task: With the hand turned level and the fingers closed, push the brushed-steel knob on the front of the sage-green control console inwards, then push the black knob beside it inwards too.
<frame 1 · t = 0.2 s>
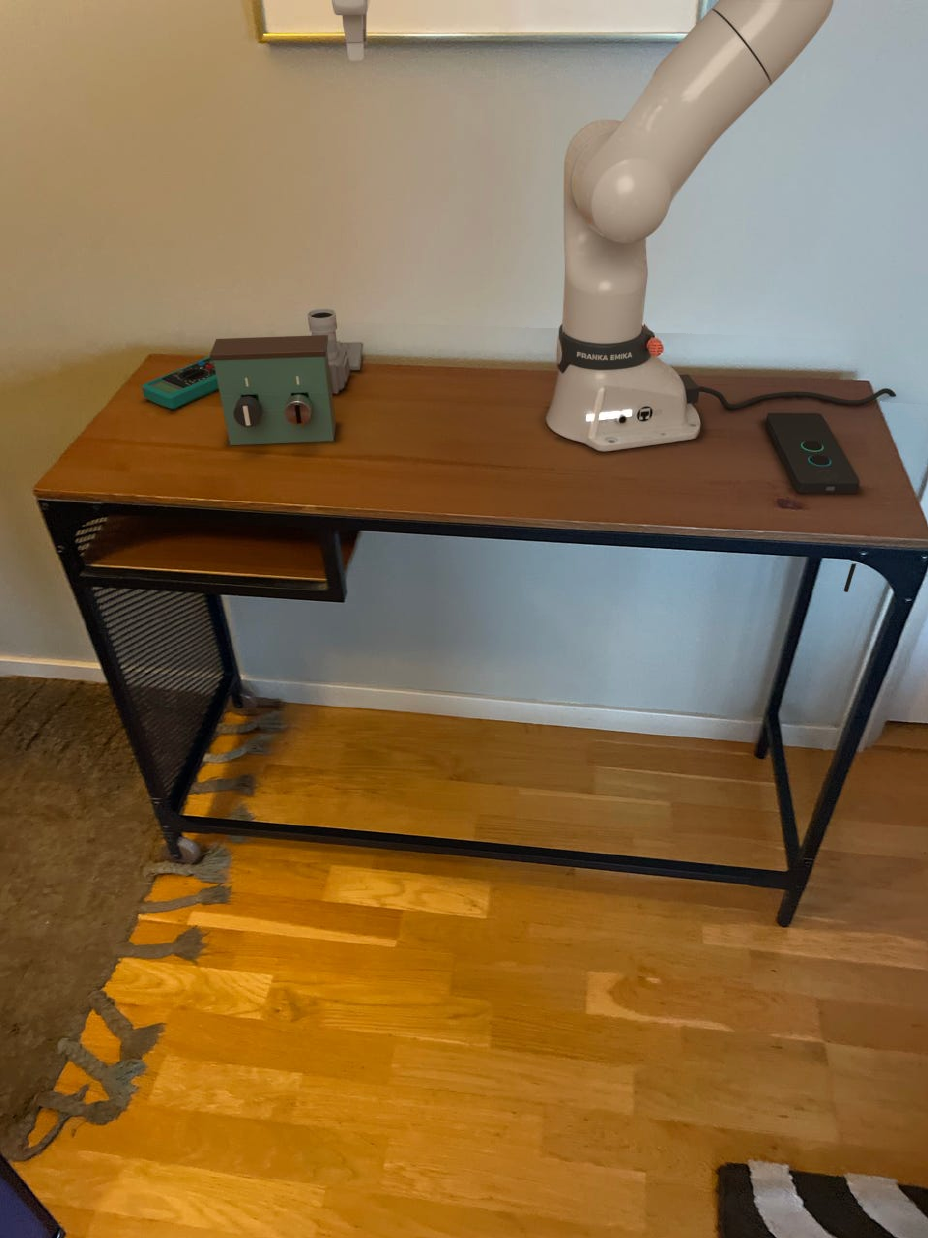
hand: (358, 53, 104), 48 cm above the table, tool pointing down, fingers open, 8 cm apart
console: (283, 434, 134), on the table
steel knob: (299, 405, 127), point 6 cm above the table, slide at 0.1 cm
digital multimeter: (194, 391, 146), on the table
smart home device: (807, 457, 127), on the table
black knob: (249, 407, 127), point 6 cm above the table, slide at 0.1 cm
camera: (333, 375, 150), on the table
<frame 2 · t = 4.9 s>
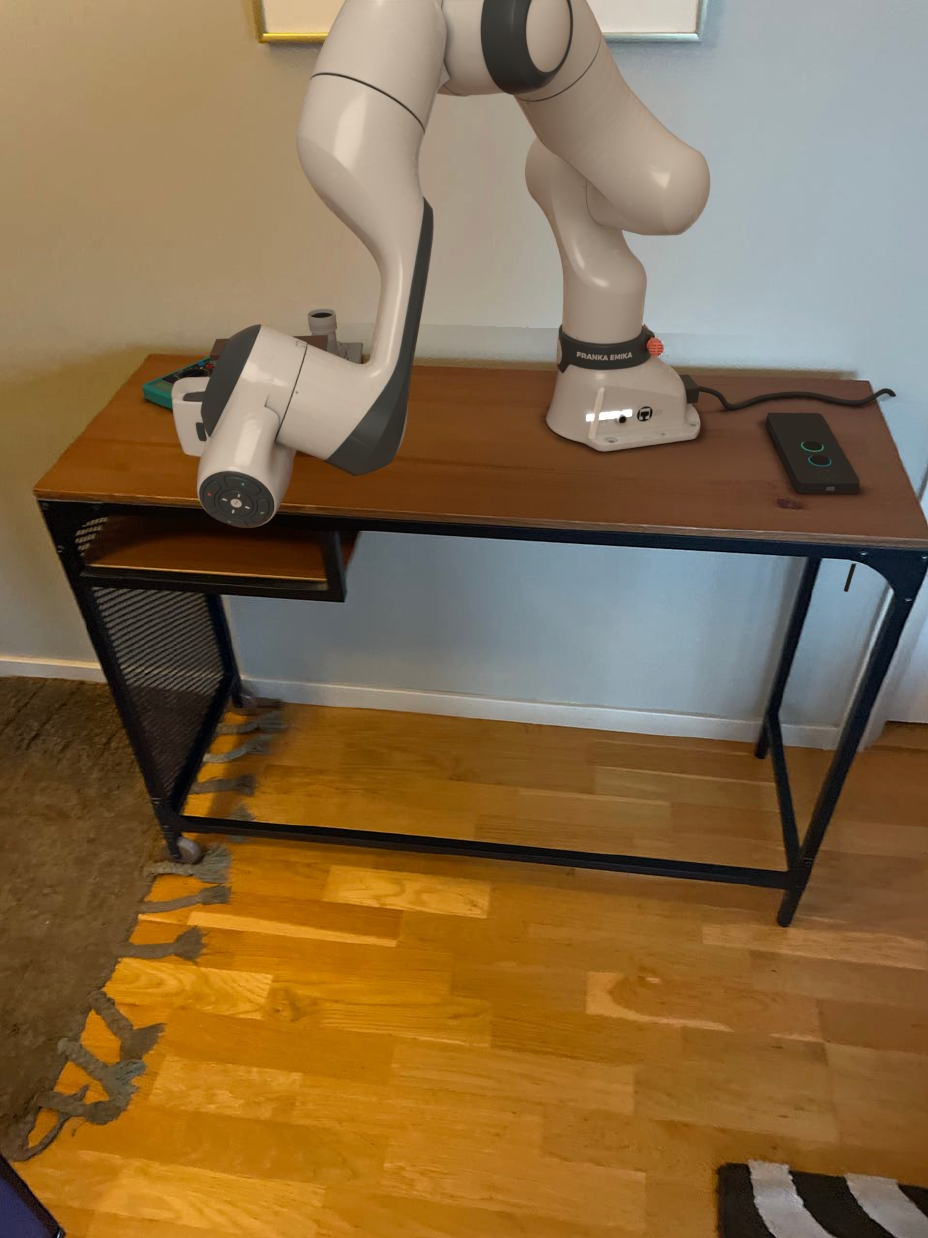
hand: (273, 371, 107), 18 cm above the table, tool horizontal, fingers closed
nothing on the table moved.
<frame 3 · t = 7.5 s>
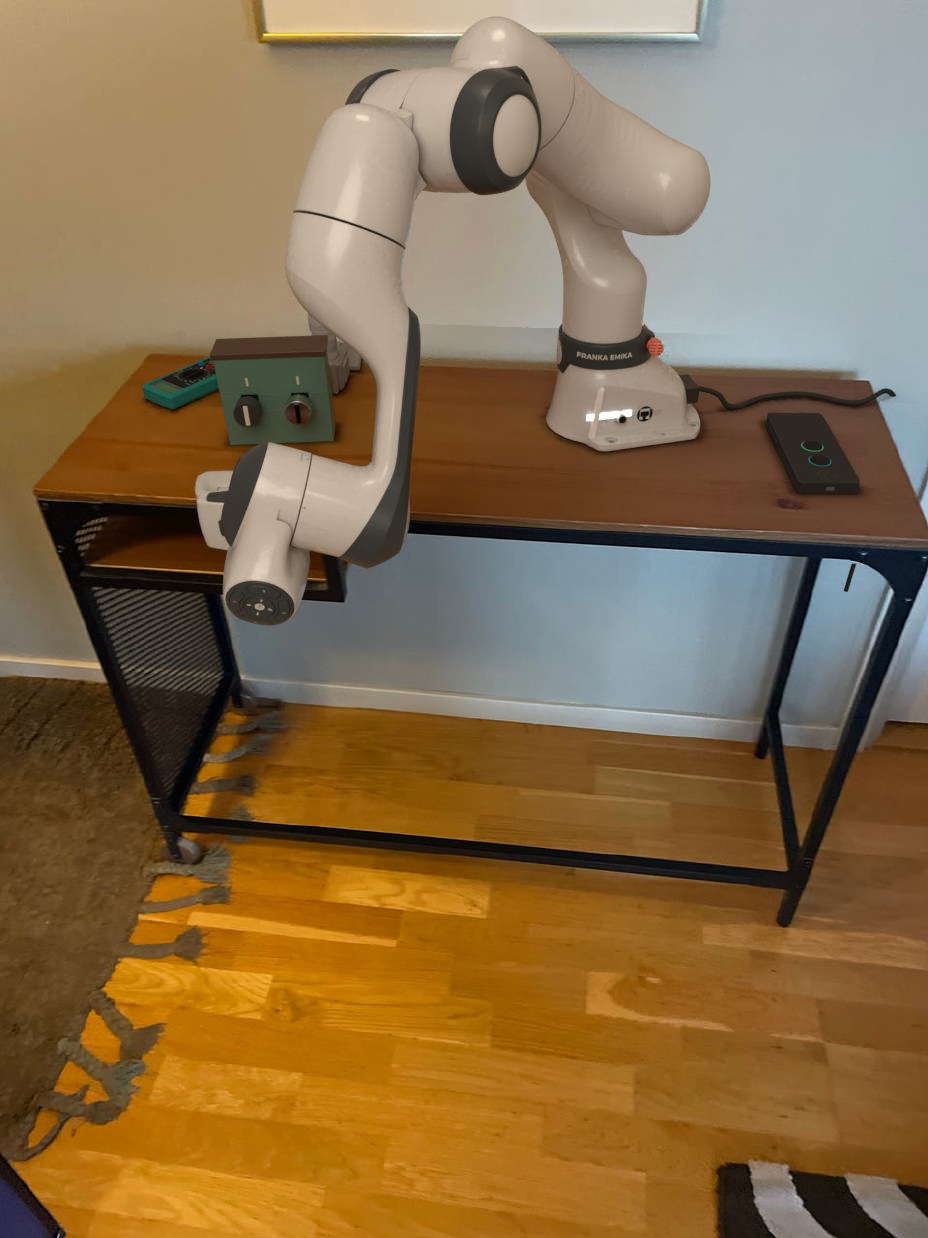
hand: (288, 460, 115), 7 cm above the table, tool horizontal, fingers closed
nothing on the table moved.
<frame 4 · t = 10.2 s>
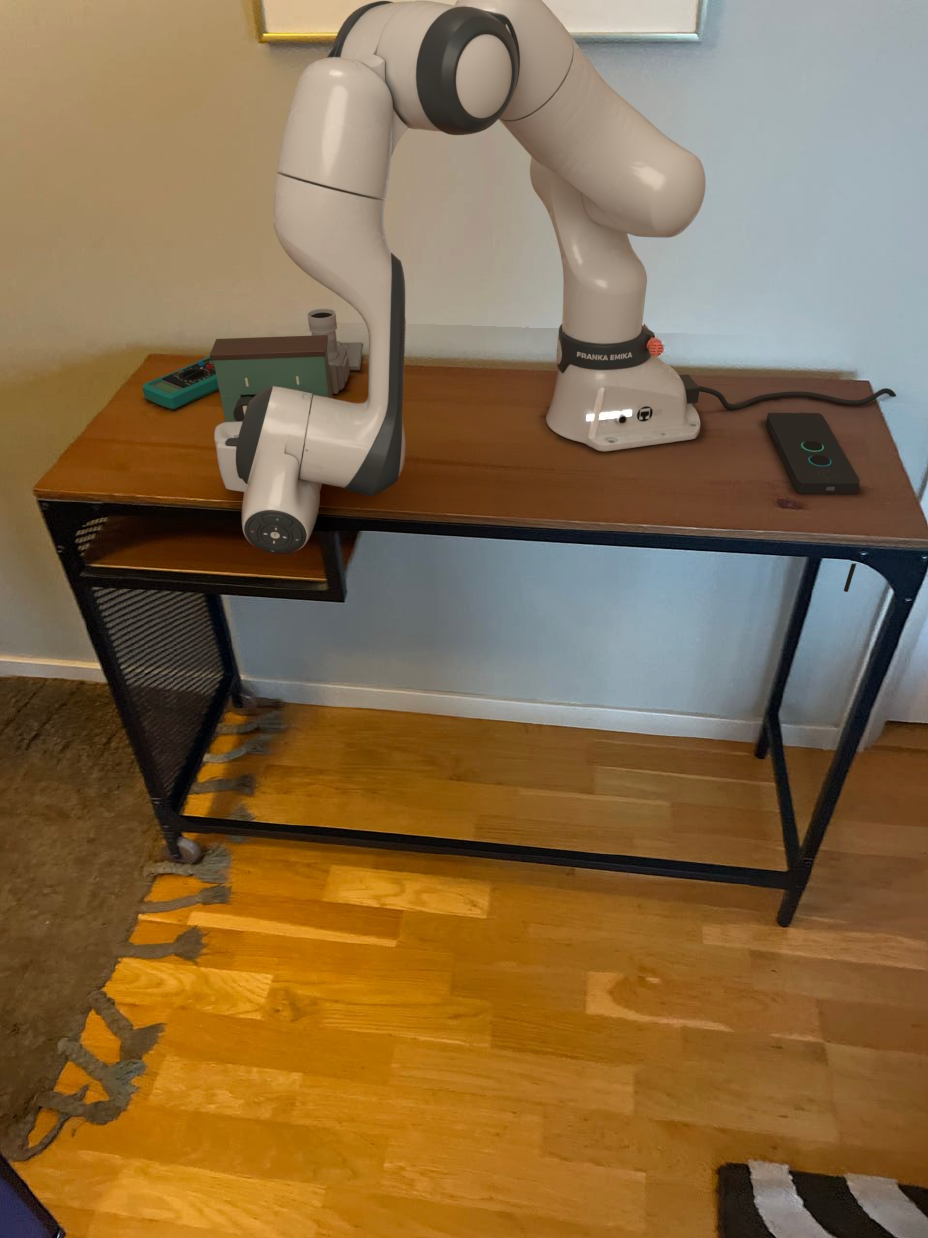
hand: (298, 414, 125), 6 cm above the table, tool horizontal, fingers closed, pressing on steel knob
steel knob: (299, 404, 127), point 6 cm above the table, slide at 0.0 cm, touching gripper
everything else where it was.
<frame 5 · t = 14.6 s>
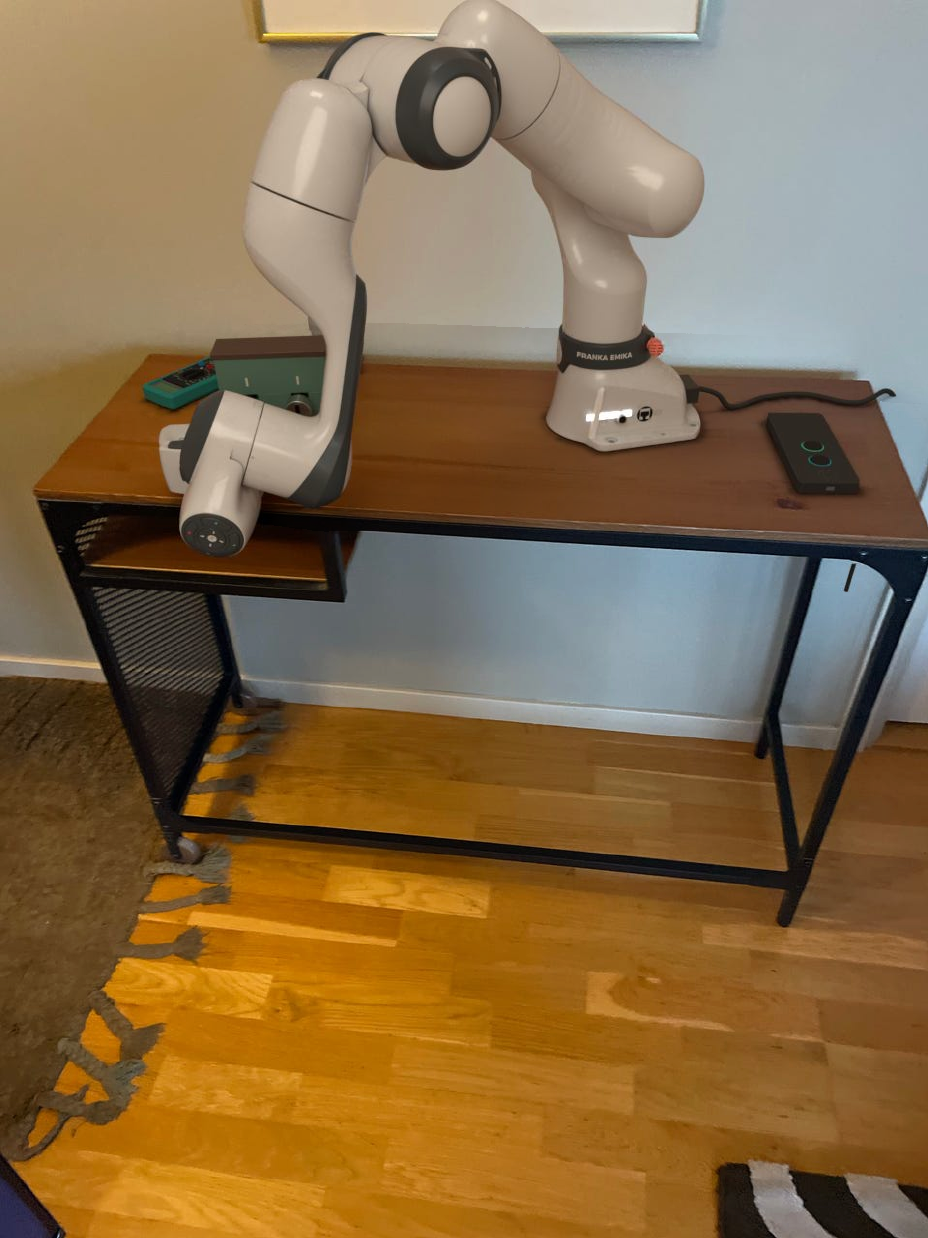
hand: (247, 416, 125), 6 cm above the table, tool horizontal, fingers closed, pressing on black knob
steel knob: (299, 405, 127), point 7 cm above the table, slide at 0.1 cm
black knob: (249, 406, 127), point 6 cm above the table, slide at 0.1 cm, touching gripper
everything else where it was.
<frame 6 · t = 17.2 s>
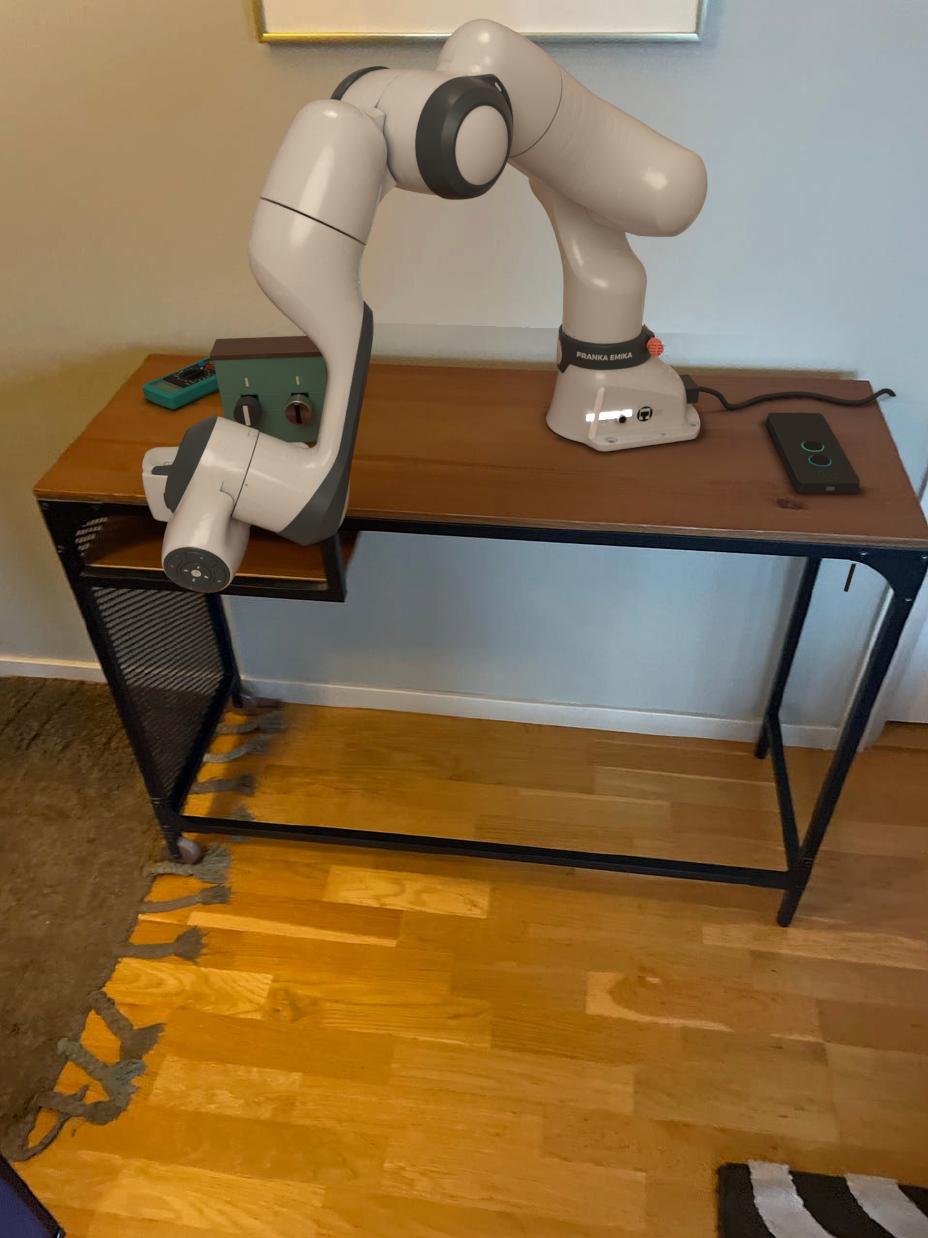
hand: (236, 438, 118), 7 cm above the table, tool horizontal, fingers closed
black knob: (249, 406, 127), point 6 cm above the table, slide at 0.1 cm
everything else where it was.
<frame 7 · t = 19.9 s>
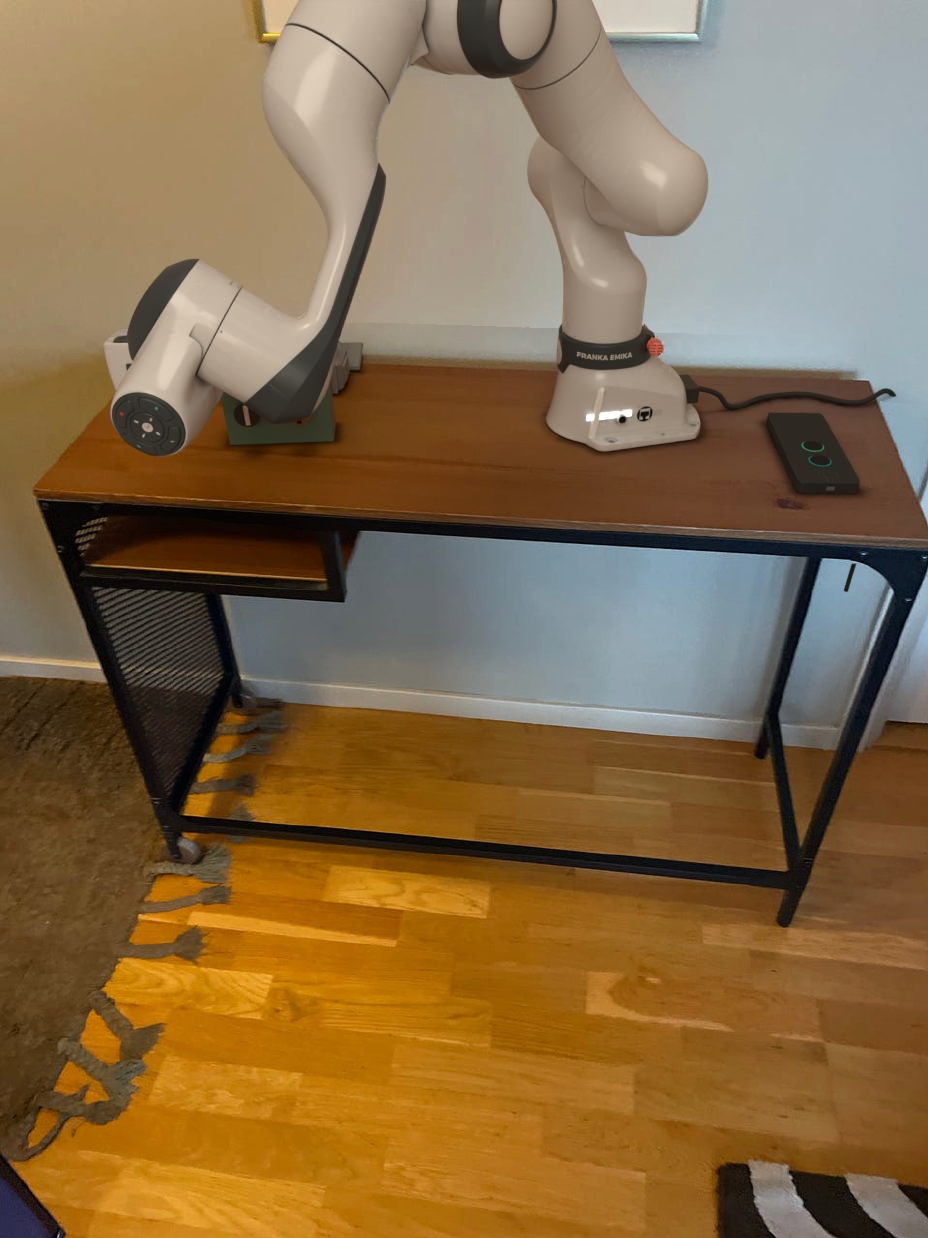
hand: (216, 325, 109), 22 cm above the table, tool horizontal, fingers closed
nothing on the table moved.
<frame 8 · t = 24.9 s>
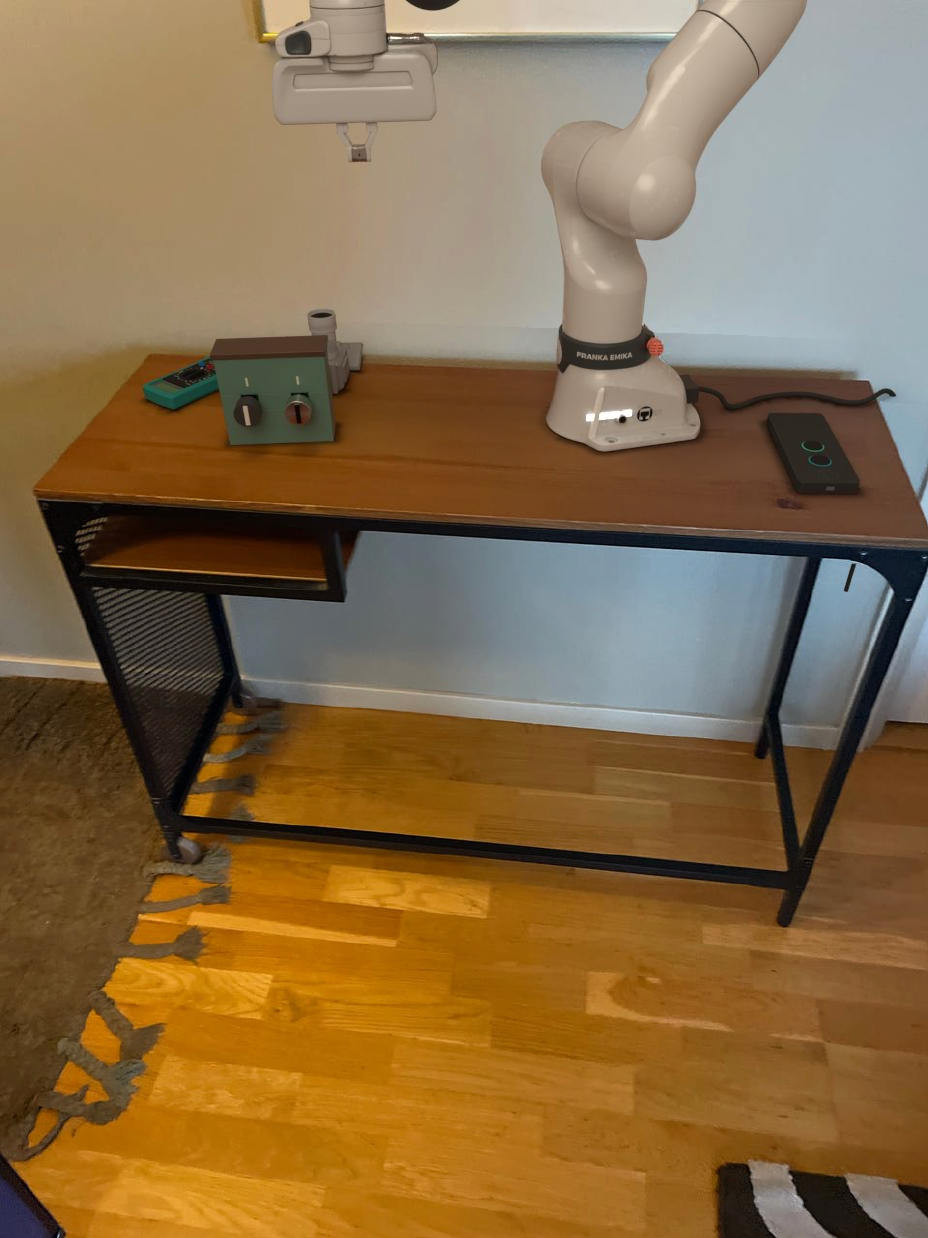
hand: (360, 160, 117), 35 cm above the table, tool pointing down, fingers closed
nothing on the table moved.
at the end: steel knob pushed in 0.9 cm at the most during the clip, back to where it started at the end; black knob pushed in 0.9 cm at the most during the clip, back to where it started at the end; black knob slide at 0.1 cm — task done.
